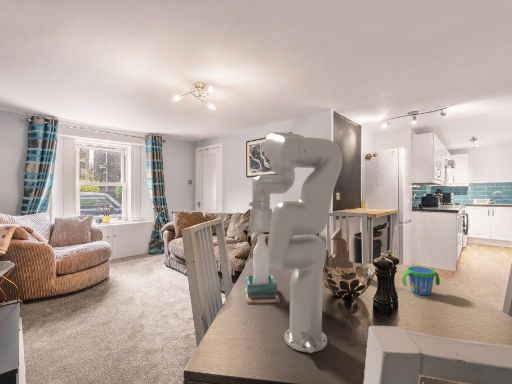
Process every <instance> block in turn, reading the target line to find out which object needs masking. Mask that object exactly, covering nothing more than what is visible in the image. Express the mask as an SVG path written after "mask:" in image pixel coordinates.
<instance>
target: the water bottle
mask: <svg viewBox="0 0 512 384" xmlns="http://www.w3.org/2000/svg"><path fill="white" fill-rule="evenodd" d="M265 233H266V232H257V238H256V239H257V242H256V244H255V245H254V247H253V251H252V268H253V275H254V277H253V284H266V283H269V278H268V275H269V269H270V264H269V262H268V258H267V248H268V244H267V243H266V234H265Z"/></svg>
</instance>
